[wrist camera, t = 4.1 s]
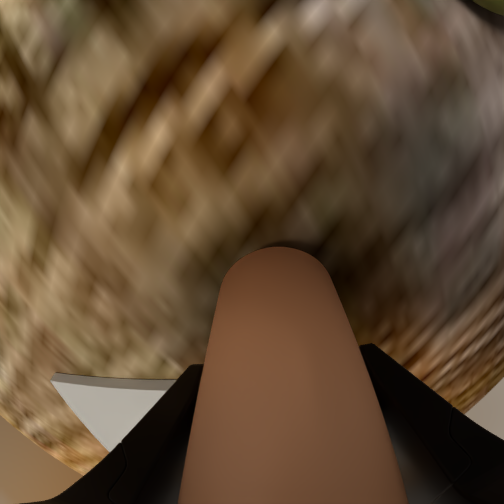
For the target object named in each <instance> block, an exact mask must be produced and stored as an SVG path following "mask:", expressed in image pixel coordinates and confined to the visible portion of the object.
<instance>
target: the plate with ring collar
mask: <svg viewBox="0 0 504 504" xmlns="http://www.w3.org/2000/svg"><path fill="white" fill-rule="evenodd" d="M50 381H51V383H52V384H53V385H54V387H55V388H56V390H57V391H58V392H59V394H60V395H61V396H62V398H63V399H64V400H65V402H66V403H67V404H68V405H69V407H70V408H71V409H72V410H73V412H74V413H75V414H76V415H77V417H78V418H79V419H80V420H81V421H82V423H83V424H84V425H85V426H86V427H87V428H88V429H89V431H90V432H91V433H92V434H93V435H94V436H95V437H96V438H97V439H98V441H99V442H100V443H101V444H102V445H103V446H104V447H105V448H106V449H107V450H108V451H109V452H111V451H112V450H113V449H114V448H115V446H116V445H117V444H118V443H119V442H121V440H122V439H123V438H124V437H125V436H126V435H127V434H128V433H129V432H130V431H131V430H132V428H133V427H134V426H135V425H136V424H137V423H138V422H139V421H140V420H141V419H142V418H143V417H144V415H145V414H146V413H147V412H148V411H149V410H150V409H151V408H152V407H153V406H154V405H155V403H156V402H157V401H158V400H159V399H160V398H161V397H162V396H163V395H164V394H165V392H166V391H167V390H168V389H169V388H170V387H171V386H172V385H173V384H174V382H175V381H176V380H143V379H118V378H103V377H90V376H79V375H70V374H61V373H55V374H54V375H53V377H52V378H51V380H50Z"/></svg>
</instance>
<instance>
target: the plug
mask: <svg viewBox="0 0 504 504" xmlns="http://www.w3.org/2000/svg"><path fill="white" fill-rule="evenodd" d="M178 504H409V503H408V499H407V495H406V491H405V487H404V484H403V480H402V476H401V473H400V469H399V466H398V462H397V459H396V455H395V452H394V449H393V445H392V442H391V439H390V436H389V433H388V429H387V426H386V423H385V420H384V417H383V414H382V411H381V408H380V405H379V402H378V399H377V396H376V393H375V391H374V388H373V385H372V382H371V379H370V376H369V374H368V371H367V368H366V365H365V363H364V360H363V357H362V355H361V352H360V349H359V347H358V344H357V341H356V339H355V336H354V334H353V331H352V329H351V326H350V323H349V321H348V318H347V316H346V313H345V311H344V309H343V306H342V304H341V301H340V299H339V296H338V294H337V292H336V289H335V287H334V284H333V282H332V280H331V277H330V275H329V273H328V271H327V270H326V268H325V267H324V266H323V265H322V264H321V263H320V262H319V261H318V260H317V259H316V258H314V257H313V256H311V255H310V254H308V253H305V252H303V251H301V250H297V249H294V248H288V247H269V248H264V249H260V250H257V251H254V252H252V253H249V254H247V255H246V256H244V257H242V258H241V259H239V260H238V261H237V262H236V263H235V264H234V265H233V266H232V267H231V268H230V269H229V270H228V272H227V273H226V275H225V277H224V279H223V281H222V284H221V287H220V291H219V296H218V300H217V305H216V310H215V314H214V319H213V323H212V328H211V333H210V337H209V342H208V347H207V352H206V357H205V361H204V366H203V371H202V376H201V381H200V386H199V391H198V396H197V401H196V406H195V411H194V416H193V421H192V427H191V432H190V437H189V443H188V448H187V453H186V459H185V464H184V470H183V475H182V481H181V487H180V493H179V498H178Z"/></svg>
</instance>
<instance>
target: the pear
mask: <svg viewBox="0 0 504 504" xmlns="http://www.w3.org/2000/svg"><path fill="white" fill-rule="evenodd" d="M472 1H474V2H475V3H477V4H478V5H480V6H482V7H483V8H485V9H487V10H489V11H491V12H494V13H496V14H499V15H502V16H504V0H472Z"/></svg>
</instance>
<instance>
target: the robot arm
mask: <svg viewBox="0 0 504 504" xmlns="http://www.w3.org/2000/svg"><path fill="white" fill-rule="evenodd" d="M359 349H360V352H361V355H362V357H363V360H364V363H365V365H366V368H367V371H368V374H369V376H370V379H371V382H372V385H373V388H374V391H375V393H376V396H377V399H378V402H379V405H380V408H381V411H382V414H383V417H384V420H385V423H386V426H387V429H388V433H389V436H390V439H391V442H392V445H393V449H394V452H395V455H396V459H397V462H398V466H399V469H400V473H401V476H402V480H403V484H404V487H405V491H406V495H407V499H408V503H409V504H504V440H503V439H501V438H499V437H497V436H496V435H494V434H492V433H491V432H489V431H487V430H486V429H484V428H483V427H481V426H480V425H478V424H476V423H475V422H474V421H472V420H471V419H469V418H468V417H467V416H465V415H464V414H463V413H461V412H460V411H459V410H458V409H456V408H455V407H453V406H452V405H451V404H450V403H449V402H447V401H446V400H445V399H443V398H442V397H441V396H440V395H438V394H437V393H436V392H435V391H433V390H432V389H431V388H429V387H428V386H427V385H426V384H424V383H423V382H422V381H421V380H419V379H418V378H417V377H415V376H414V375H413V374H412V373H410V372H409V371H408V370H406V369H405V368H404V367H403V366H401V365H400V364H399V363H398V362H396V361H395V360H394V359H392V358H391V357H390V356H389V355H387V354H386V353H385V352H383V351H382V350H381V349H380V348H378V347H377V346H376V345H375V344H373V343H369V344H364V345H360V346H359ZM203 366H204V365H203V364H192V365H190V366H189V367H188V368H187V369H186V370H185V371H184V372H183V374H182V375H181V376H180V377H179V378H178V379H177V380H176V381H175V382H174V384H173V385H172V386H171V387H170V388H169V389H168V390H167V391H166V392H165V394H164V395H163V396H162V397H161V398H160V399H159V400H158V401H157V402H156V403H155V405H154V406H153V407H152V408H151V409H150V410H149V411H148V412H147V413H146V414H145V415H144V417H143V418H142V419H141V420H140V421H139V422H138V423H137V424H136V425H135V426H134V427H133V428H132V430H131V431H130V432H129V433H128V434H127V435H126V436H125V437H124V438H123V439H122V440H121V442H119V443H118V444H117V445H116V446H115V448H114V449H113V450H112V451H111V452H110V453H109V454H108V455H107V456H106V457H105V458H104V459H103V460H102V461H101V462H99V463H98V464H97V465H96V466H95V467H94V468H93V469H91V470H90V471H89V472H88V473H87V474H85V475H84V476H83V477H82V478H80V479H79V480H78V481H77V482H75V483H74V484H73V485H72V486H70V487H69V488H68V489H67V490H65V491H64V492H63V493H61V494H60V495H58V496H56V497H54V498H52V499H49V500H45V501H39V502H31V503H21V504H178V498H179V493H180V487H181V481H182V475H183V470H184V464H185V459H186V453H187V448H188V443H189V437H190V432H191V427H192V421H193V416H194V411H195V406H196V401H197V396H198V391H199V386H200V381H201V376H202V371H203ZM452 407H453V408H452Z"/></svg>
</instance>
